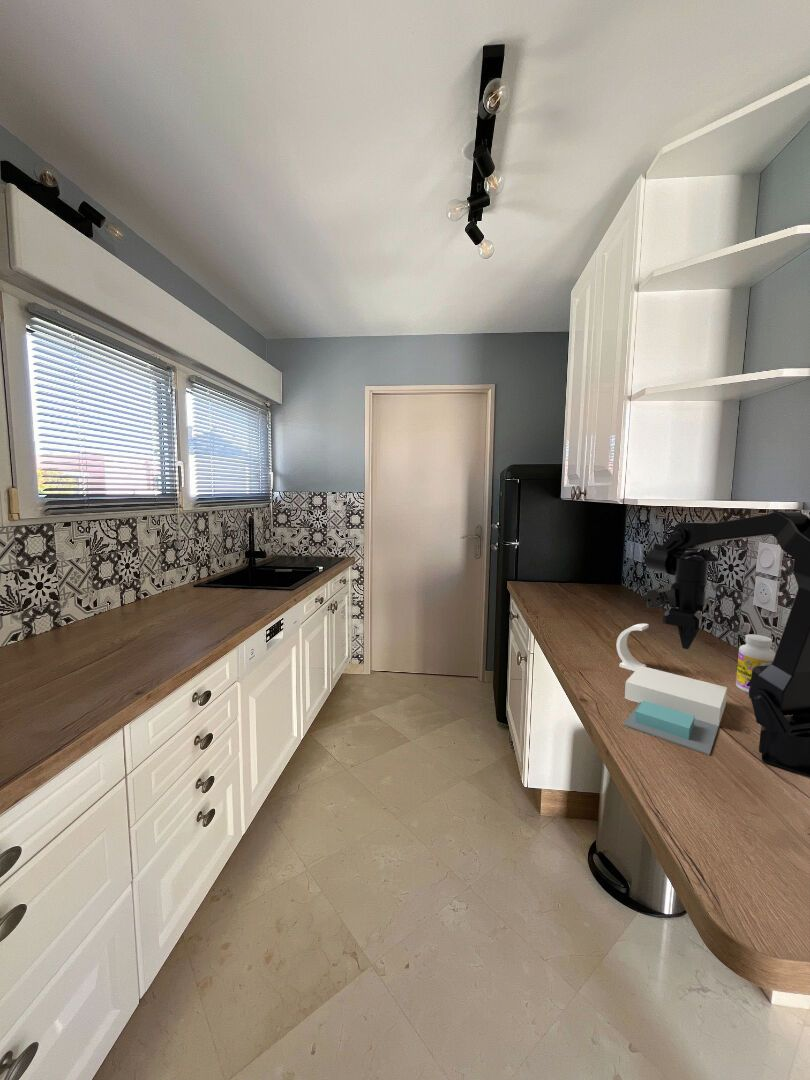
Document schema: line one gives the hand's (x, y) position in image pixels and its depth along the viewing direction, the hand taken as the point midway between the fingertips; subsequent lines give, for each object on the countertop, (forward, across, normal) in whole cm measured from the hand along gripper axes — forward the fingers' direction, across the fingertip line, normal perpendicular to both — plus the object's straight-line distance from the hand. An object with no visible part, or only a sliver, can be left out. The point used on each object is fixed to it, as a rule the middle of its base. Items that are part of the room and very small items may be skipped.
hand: (685, 648), depth 91 cm
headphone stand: (+12, -12, -13) cm, 22 cm away
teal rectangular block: (+9, +15, -1) cm, 18 cm away
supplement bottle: (+12, -17, +12) cm, 24 cm away
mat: (+12, +14, 0) cm, 19 cm away
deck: (+12, +2, -1) cm, 12 cm away
